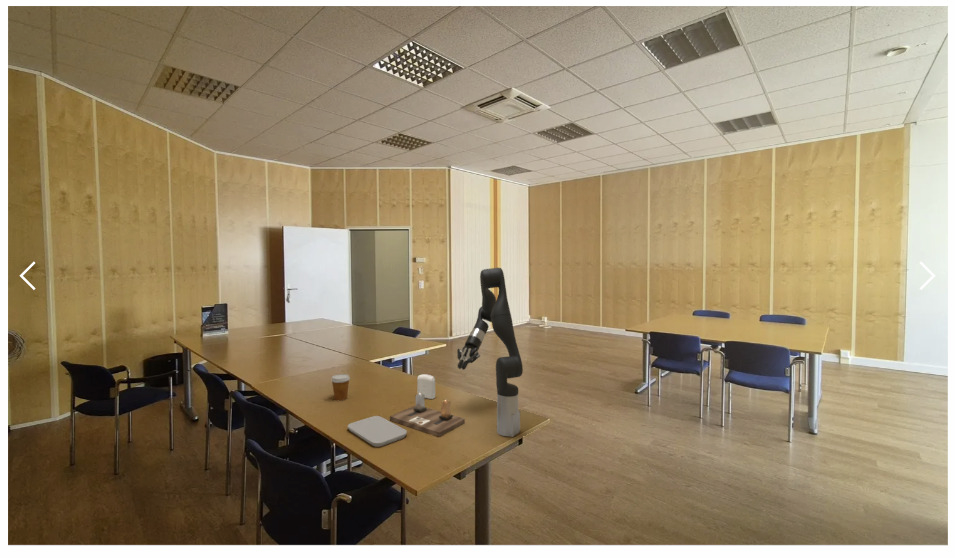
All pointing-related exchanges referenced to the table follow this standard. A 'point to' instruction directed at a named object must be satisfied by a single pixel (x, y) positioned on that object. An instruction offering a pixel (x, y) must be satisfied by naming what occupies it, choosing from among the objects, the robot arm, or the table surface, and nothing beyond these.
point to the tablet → (377, 431)
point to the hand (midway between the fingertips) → (460, 368)
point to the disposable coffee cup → (340, 386)
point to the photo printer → (426, 385)
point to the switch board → (427, 421)
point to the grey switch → (420, 402)
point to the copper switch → (445, 410)
